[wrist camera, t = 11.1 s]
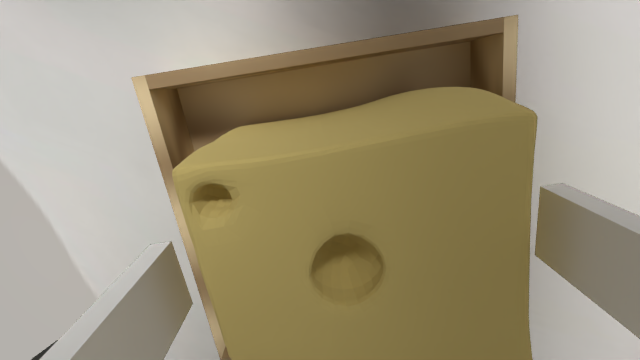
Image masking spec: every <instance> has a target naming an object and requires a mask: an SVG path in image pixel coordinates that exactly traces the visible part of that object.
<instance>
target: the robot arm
mask: <svg viewBox="0 0 640 360" xmlns="http://www.w3.org/2000/svg"><path fill="white" fill-rule="evenodd" d="M535 255H536V256H537V257H538V258H540V259H541V260H542V261H543V262H545V263H546V264H547V265H548V266H550V267H551V268H552V269H553V270H555V271H556V272H557V273H558V274H560V275H561V276H562V277H563V278H565V279H566V280H567V281H568V282H569V283H571V284H572V285H573V286H574V287H576V288H577V289H578V290H579V291H581V292H582V293H583V294H584V295H586V296H587V297H588V298H589V299H591V300H592V301H593V302H594V303H596V304H597V305H598V306H599V307H601V308H602V309H603V310H604V311H606V312H607V313H608V314H609V315H611V316H612V317H613V318H614V319H616V320H617V321H618V322H619V323H621V324H622V325H623V326H624V327H626V328H627V329H628V330H629V331H631V332H632V333H633V334H634V335H636V336H637V337H638V338H639V339H640V216H638V215H636V214H634V213H631V212H629V211H627V210H624V209H622V208H620V207H617V206H615V205H613V204H610V203H608V202H606V201H603V200H601V199H599V198H596V197H594V196H592V195H589V194H587V193H585V192H582V191H580V190H578V189H575V188H573V187H571V186H568V185H566V184H563V183H560V184H553V185H546V186H540V197H539V209H538V221H537V234H536V246H535ZM192 304H193V302H192V300H191V297H190V294H189V291H188V288H187V285H186V282H185V279H184V276H183V273H182V271H181V268H180V265H179V262H178V259H177V256H176V253H175V250H174V247H173V245H172V242H171V241H169V242H162V243H155V244H150V245H149V246H148V247H147V248H146V249H145V250H144V251H143V253H142V254H141V255H140V256H139V257H138V258H137V259H136V260H135V261H134V262H133V263H132V264H131V265H130V266H129V267H128V268H127V269H126V270H125V271H124V272H123V273H122V274H121V275H120V276H119V277H118V278H117V280H116V281H115V282H114V283H113V284H112V285H111V286H110V287H109V288H108V289H107V290H106V291H105V292H104V293H103V294H102V295H101V296H100V297H99V298H98V299H97V300H96V301H95V302H94V303H93V304H92V305H91V307H90V308H89V309H88V310H87V311H86V312H85V313H84V314H83V315H82V316H81V317H80V318H79V319H78V320H77V321H76V322H75V323H74V324H73V325H72V326H71V327H70V328H69V329H68V330H67V331H66V333H64V335H63V336H62V337H61V338H60V339H59V340H57V341H55V342H54V343H53V344H51V345H50V346H49V347H47V348H46V349H45V350H43V351H42V352H41V353H39V354H38V355H37V356H35V357H34V358H33V359H32V360H164V358H165V356H166V354H167V352H168V350H169V348H170V346H171V344H172V342H173V340H174V339H175V337H176V335H177V333H178V331H179V329H180V327H181V325H182V323H183V321H184V320H185V318H186V316H187V314H188V312H189V310H190V308H191V306H192Z"/></svg>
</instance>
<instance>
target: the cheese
mask: <svg viewBox="0 0 640 360" xmlns="http://www.w3.org/2000/svg"><path fill="white" fill-rule="evenodd" d="M536 130H537V115H536V114H535V112H534V111H532V110H530V109H528V108H526V107H524V106H522V105H519V104H517V103H514V102H512V101H510V100H508V99H506V98H504V97H501V96H499V95H497V94H494V93H491V92H489V91H485V90H481V89H477V88H470V87H436V88H427V89H420V90H414V91H408V92H404V93H399V94H396V95H392V96H388V97H385V98H382V99H379V100H376V101H373V102H370V103H366V104H363V105H360V106H356V107H352V108H348V109H343V110H339V111H334V112H329V113H325V114H320V115H314V116H308V117H302V118H295V119H288V120H281V121H274V122H267V123H259V124H252V125H246V126H241V127H238V128H235V129H233V130H231V131H229V132H227V133H226V134H224V135H222V136H220V137H219V138H218V139H216V140H215V141H214V142H211V143H209V144H207V145H205V146H203V147H201V148H199V149H198V150H196V151H195V152H193V153H192V154H191V155H189V156H188V157H187V158H186V159H184V160H183V161H182V162H181V163H180V164H178V165H177V166H176V167H175V168H174V169H173V171H172V177H173V182H174V186H175V189H176V193H177V196H178V199H179V203H180V206H181V209H182V212H183V215H184V218H185V222H186V225H187V228H188V231H189V234H190V237H191V240H192V243H193V246H194V249H195V253H196V257H197V260H198V264H199V268H200V271H201V274H202V277H203V279H204V282H205V285H206V288H207V291H208V294H209V297H210V300H211V303H212V306H213V309H214V312H215V315H216V318H217V321H218V324H219V327H220V330H221V333H222V337H223V340H224V343H225V345H226V348H227V351H228V355H229V357H230V358H231V359H232V360H532V351H531V342H530V332H529V263H530V221H531V194H532V178H533V163H534V150H535V140H536Z"/></svg>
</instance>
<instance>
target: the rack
mask: <svg viewBox="0 0 640 360" xmlns="http://www.w3.org/2000/svg"><path fill="white" fill-rule="evenodd" d="M517 38H518V15H514V16H508V17H501V18H495V19H489V20H483V21H477V22H471V23H465V24H458V25H452V26H446V27H440V28H434V29H428V30H421V31H415V32H409V33H403V34H397V35H391V36H384V37H378V38H372V39H366V40H360V41H354V42H347V43H341V44H335V45H329V46H323V47H317V48H310V49H304V50H298V51H292V52H286V53H280V54H273V55H267V56H261V57H255V58H249V59H243V60H236V61H230V62H224V63H218V64H212V65H206V66H200V67H193V68H187V69H181V70H175V71H169V72H163V73H156V74H150V75H144V76H138V77H132V81H133V84H134V88H135V91H136V94H137V97H138V100H139V103H140V107H141V110H142V113H143V116H144V119H145V122H146V126H147V129H148V132H149V135H150V138H151V141H152V145H153V148H154V151H155V154H156V157H157V160H158V164H159V167H160V170H161V173H162V176H163V179H164V183H165V186H166V189H167V192H168V195H169V198H170V202H171V205H172V208H173V211H174V214H175V217H176V220H177V224H178V227H179V230H180V233H181V236H182V239H183V243H184V246H185V249H186V252H187V255H188V258H189V262H190V265H191V268H192V271H193V274H194V277H195V281H196V284H197V287H198V290H199V293H200V296H201V300H202V303H203V306H204V309H205V312H206V315H207V319H208V322H209V325H210V328H211V331H212V334H213V338H214V341H215V344H216V347H217V350H218V353H219V357H220V360H232V359H231V358H230V357H229V355H228V351H227V348H226V345H225V343H224V340H223V337H222V333H221V330H220V327H219V324H218V321H217V318H216V315H215V312H214V309H213V306H212V303H211V300H210V297H209V294H208V291H207V288H206V285H205V282H204V279H203V277H202V274H201V271H200V268H199V264H198V260H197V257H196V253H195V249H194V246H193V243H192V240H191V237H190V234H189V231H188V228H187V225H186V222H185V218H184V215H183V212H182V209H181V206H180V203H179V199H178V196H177V193H176V189H175V186H174V182H173V177H172V171H173V169H174V168H175V167H176V166H177V165H178V164H180V163H181V162H182V161H183V160H184V159H186V158H187V157H188V156H189V155H191V154H192V153H193V152H195V151H196V150H198V149H199V148H201V147H203V146H205V145H207V144H209V143H211V142H214V141H215V140H216V139H218V138H219V137H220V136H222V135H224V134H226V133H227V132H229V131H231V130H233V129H235V128H238V127H241V126H246V125H252V124H259V123H267V122H274V121H281V120H288V119H295V118H302V117H308V116H314V115H320V114H325V113H329V112H334V111H339V110H343V109H348V108H352V107H356V106H360V105H363V104H366V103H370V102H373V101H376V100H379V99H382V98H385V97H388V96H392V95H396V94H399V93H404V92H408V91H414V90H420V89H427V88H436V87H470V88H477V89H481V90H485V91H489V92H491V93H494V94H497V95H499V96H501V97H504V98H506V99H508V100H510V101H512V102H514V103H515V98H516V68H517Z"/></svg>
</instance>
